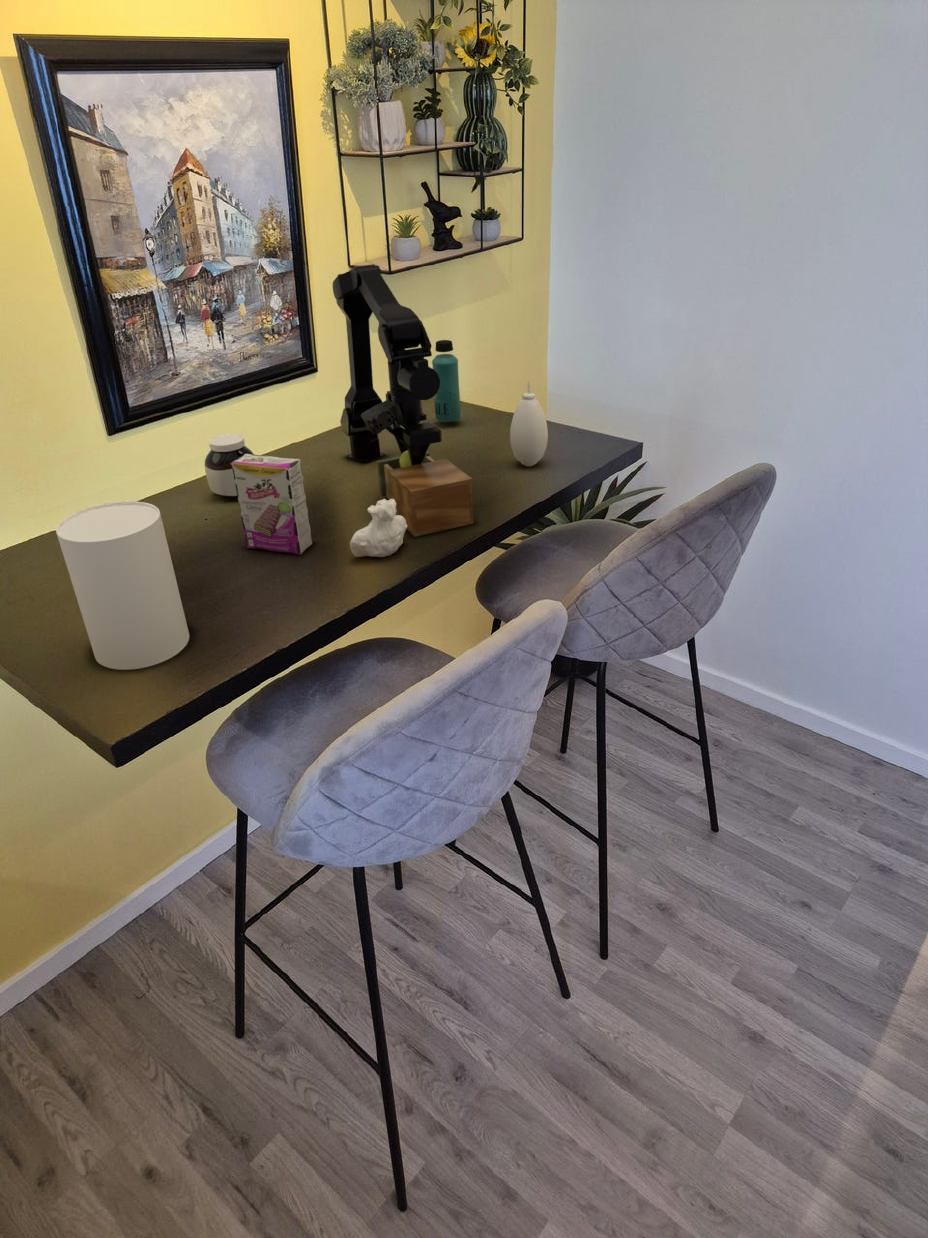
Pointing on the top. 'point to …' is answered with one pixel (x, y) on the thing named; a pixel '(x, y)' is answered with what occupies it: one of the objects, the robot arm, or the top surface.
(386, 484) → the drawer
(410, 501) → the cabinet
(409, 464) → the ball
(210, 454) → the spread jar
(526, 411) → the white air blower bulb
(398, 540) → the white lumpy figure
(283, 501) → the candy bar box
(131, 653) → the canister
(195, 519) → the top surface
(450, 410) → the beverage bottle
